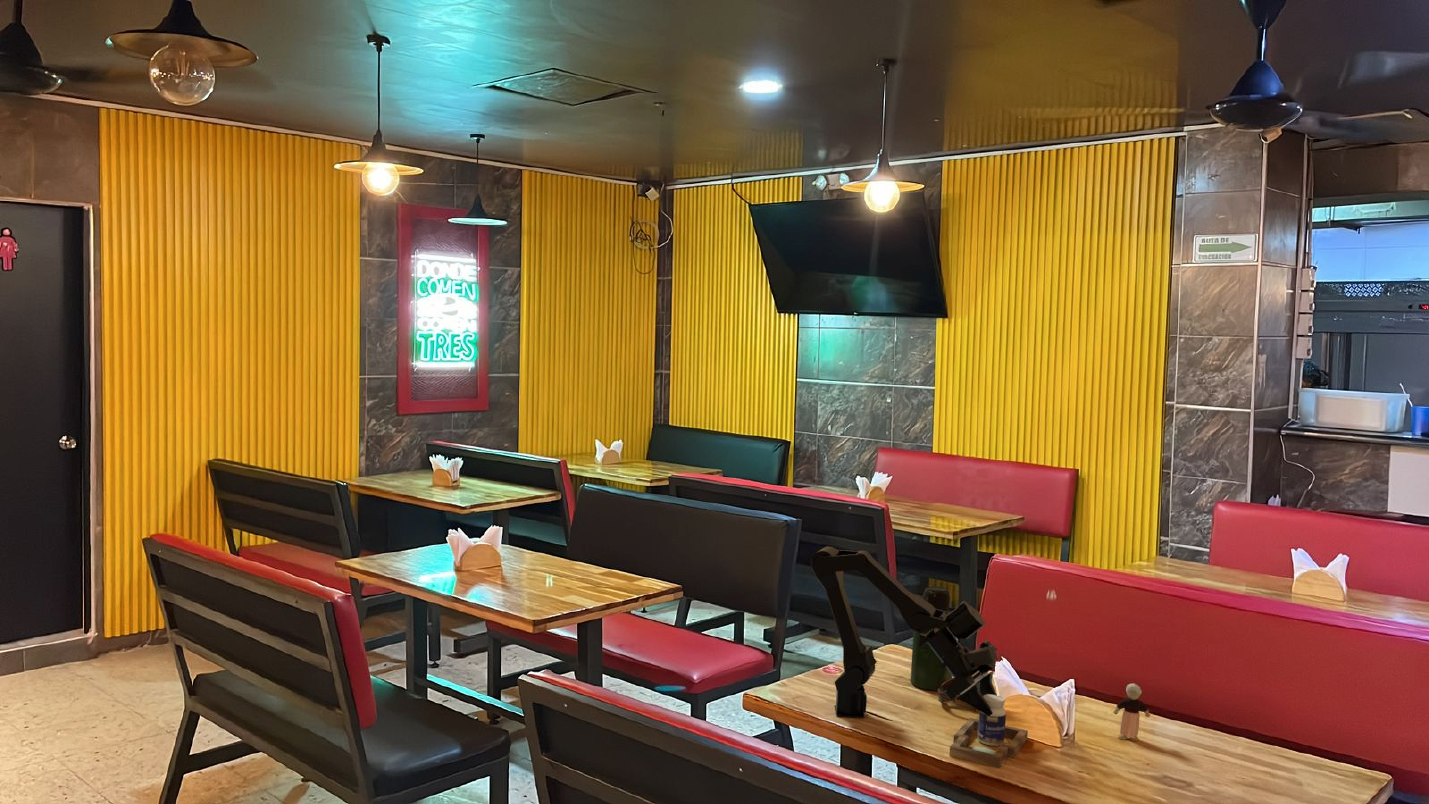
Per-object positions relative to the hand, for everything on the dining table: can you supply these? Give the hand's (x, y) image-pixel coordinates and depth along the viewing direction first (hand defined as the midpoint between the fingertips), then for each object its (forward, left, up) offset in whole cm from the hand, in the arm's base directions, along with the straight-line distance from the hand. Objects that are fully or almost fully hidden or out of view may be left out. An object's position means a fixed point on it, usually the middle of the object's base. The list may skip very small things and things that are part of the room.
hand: (995, 710), depth 234 cm
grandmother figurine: (+32, +7, -7) cm, 34 cm away
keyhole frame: (-2, -3, -7) cm, 8 cm away
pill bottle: (-1, 0, -7) cm, 7 cm away
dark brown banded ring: (-3, +22, -7) cm, 24 cm away
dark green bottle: (-8, +37, -7) cm, 39 cm away
